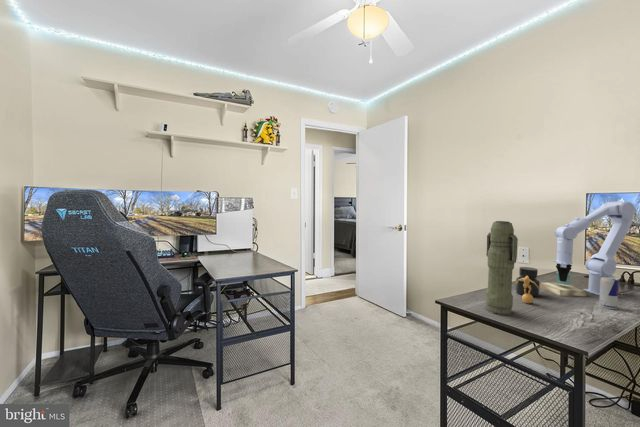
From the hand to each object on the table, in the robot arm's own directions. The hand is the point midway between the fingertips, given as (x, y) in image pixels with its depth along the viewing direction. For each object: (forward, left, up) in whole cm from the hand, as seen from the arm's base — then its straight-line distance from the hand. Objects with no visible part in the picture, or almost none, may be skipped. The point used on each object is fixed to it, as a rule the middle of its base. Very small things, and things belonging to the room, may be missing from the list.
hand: (563, 280), depth 139 cm
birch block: (0, 0, -6) cm, 6 cm away
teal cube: (0, 0, -2) cm, 2 cm away
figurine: (+29, +18, -6) cm, 35 cm away
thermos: (+46, +27, -6) cm, 54 cm away
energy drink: (-2, +20, -6) cm, 21 cm away
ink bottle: (+20, +5, -6) cm, 21 cm away
